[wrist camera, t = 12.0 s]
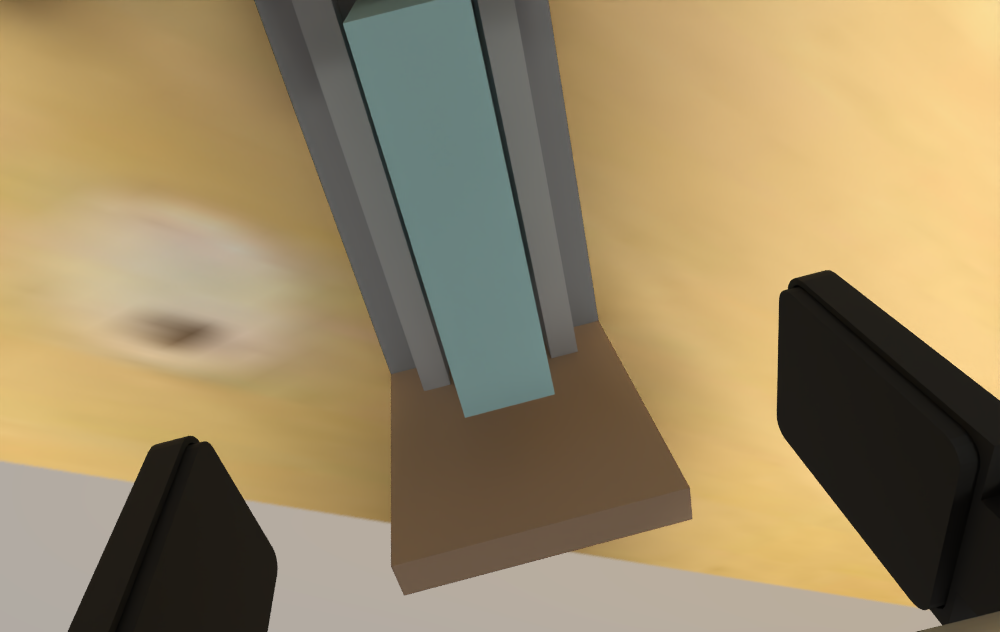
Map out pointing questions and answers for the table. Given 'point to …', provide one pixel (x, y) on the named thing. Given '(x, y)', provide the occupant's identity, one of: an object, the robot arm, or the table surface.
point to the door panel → (453, 192)
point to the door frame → (416, 341)
